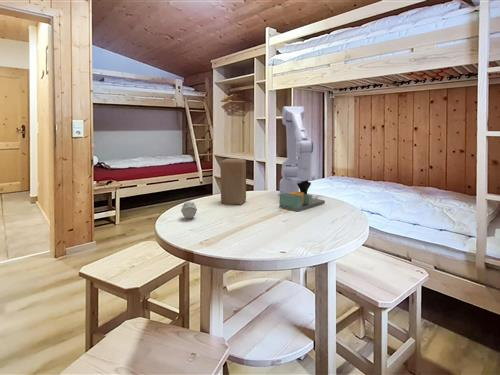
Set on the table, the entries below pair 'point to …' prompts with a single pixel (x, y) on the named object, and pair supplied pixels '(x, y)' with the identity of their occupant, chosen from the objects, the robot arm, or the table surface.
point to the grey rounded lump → (189, 209)
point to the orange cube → (298, 195)
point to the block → (233, 181)
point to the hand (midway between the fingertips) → (303, 197)
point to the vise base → (305, 206)
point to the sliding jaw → (309, 199)
